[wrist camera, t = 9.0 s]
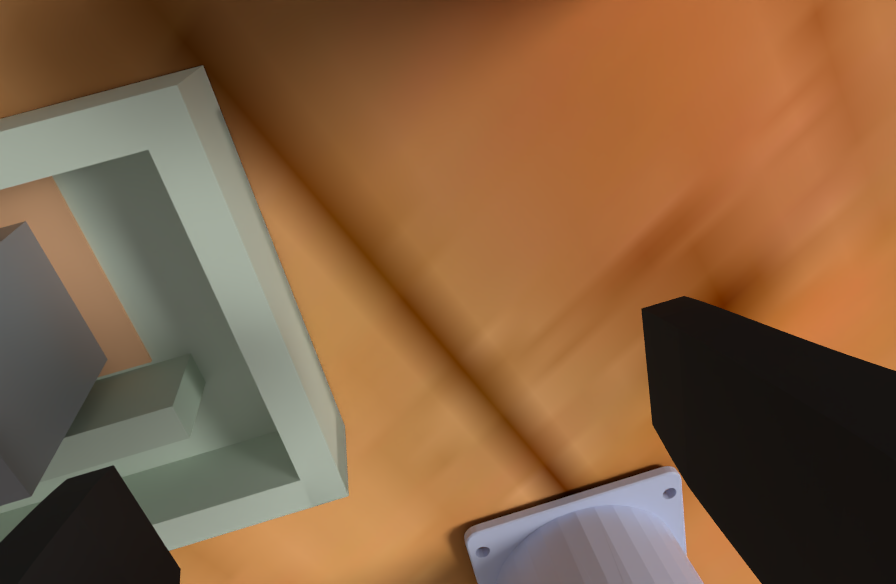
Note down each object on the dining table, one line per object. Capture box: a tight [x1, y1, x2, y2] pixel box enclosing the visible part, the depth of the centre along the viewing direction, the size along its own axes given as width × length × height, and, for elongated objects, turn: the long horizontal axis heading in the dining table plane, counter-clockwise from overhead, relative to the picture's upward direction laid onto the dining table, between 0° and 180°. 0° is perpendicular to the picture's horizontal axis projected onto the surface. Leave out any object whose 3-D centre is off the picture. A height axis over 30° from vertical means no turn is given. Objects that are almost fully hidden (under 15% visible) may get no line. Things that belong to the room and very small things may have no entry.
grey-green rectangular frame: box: [0, 65, 349, 551], centre depth 16 cm, size 11×14×3 cm
